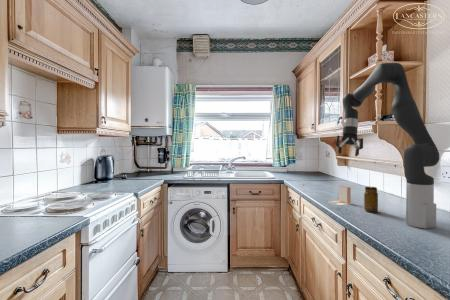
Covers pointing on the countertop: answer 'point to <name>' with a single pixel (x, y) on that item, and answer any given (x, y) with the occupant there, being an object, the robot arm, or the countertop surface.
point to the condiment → (371, 200)
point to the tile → (345, 194)
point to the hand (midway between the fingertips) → (348, 155)
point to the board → (339, 203)
